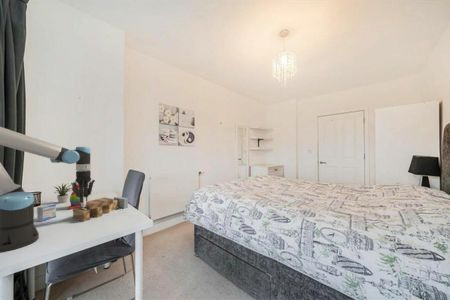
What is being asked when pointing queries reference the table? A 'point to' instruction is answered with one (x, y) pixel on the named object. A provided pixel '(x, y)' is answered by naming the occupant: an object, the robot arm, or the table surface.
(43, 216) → the medicine box
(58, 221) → the table surface
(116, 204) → the skid
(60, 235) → the table surface
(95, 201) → the slab
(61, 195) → the house plant
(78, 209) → the bed
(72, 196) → the stacking bear
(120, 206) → the block
